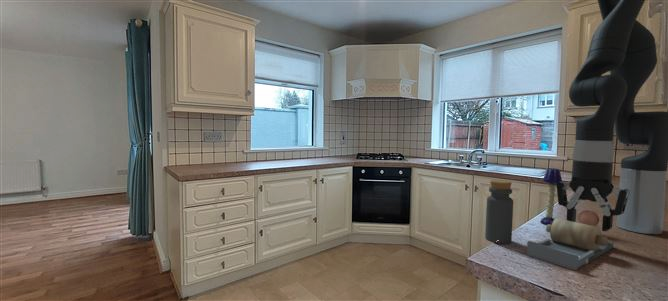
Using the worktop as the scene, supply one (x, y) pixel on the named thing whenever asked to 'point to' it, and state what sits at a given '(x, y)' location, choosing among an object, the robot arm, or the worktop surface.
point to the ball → (588, 218)
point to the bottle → (499, 213)
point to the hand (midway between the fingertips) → (588, 226)
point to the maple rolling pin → (576, 234)
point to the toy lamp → (551, 193)
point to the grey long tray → (564, 253)
